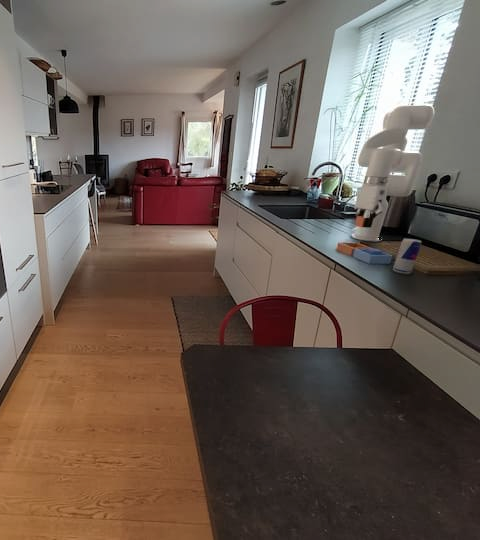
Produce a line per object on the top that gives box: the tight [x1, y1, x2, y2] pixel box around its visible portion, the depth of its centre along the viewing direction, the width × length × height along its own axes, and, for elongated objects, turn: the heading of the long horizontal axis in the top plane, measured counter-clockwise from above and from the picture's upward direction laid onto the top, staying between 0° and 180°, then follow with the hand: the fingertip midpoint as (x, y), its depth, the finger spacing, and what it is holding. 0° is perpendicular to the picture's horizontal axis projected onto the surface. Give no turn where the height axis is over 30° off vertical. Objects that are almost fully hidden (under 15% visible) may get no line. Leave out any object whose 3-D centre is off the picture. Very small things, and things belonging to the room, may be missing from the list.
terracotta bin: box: [336, 241, 372, 257], centre depth 141 cm, size 9×9×3 cm
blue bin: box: [352, 249, 394, 265], centre depth 131 cm, size 9×9×3 cm
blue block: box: [365, 247, 384, 255], centre depth 131 cm, size 4×4×4 cm
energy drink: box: [392, 237, 423, 275], centre depth 117 cm, size 5×5×12 cm
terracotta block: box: [354, 215, 367, 227], centre depth 136 cm, size 4×4×4 cm
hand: (362, 225), depth 136 cm, fingers closed on terracotta block, 4 cm apart
